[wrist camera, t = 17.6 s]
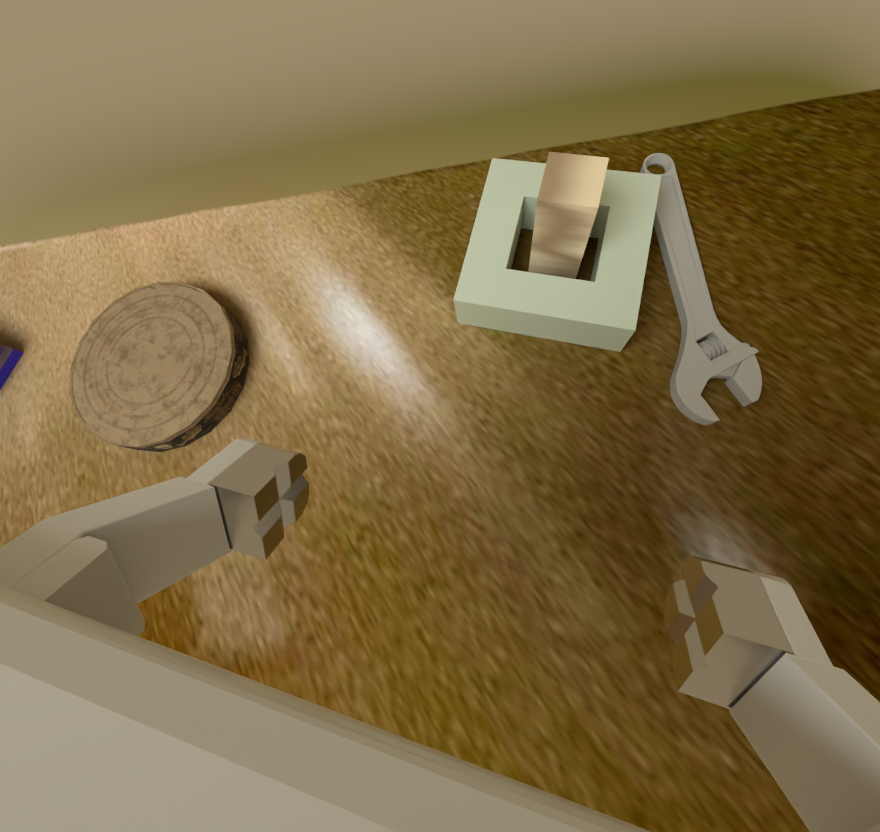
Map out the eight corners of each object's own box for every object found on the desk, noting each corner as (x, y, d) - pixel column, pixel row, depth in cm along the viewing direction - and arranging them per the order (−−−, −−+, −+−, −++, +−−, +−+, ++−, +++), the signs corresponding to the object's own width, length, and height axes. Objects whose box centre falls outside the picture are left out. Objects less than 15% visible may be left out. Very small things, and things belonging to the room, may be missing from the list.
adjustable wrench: (634, 168, 40) (640, 152, 38) (706, 161, 39) (716, 144, 37) (672, 424, 33) (682, 418, 32) (760, 421, 33) (775, 415, 31)
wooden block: (580, 250, 38) (608, 157, 28) (572, 290, 37) (598, 207, 27) (536, 244, 39) (549, 151, 29) (526, 282, 38) (537, 200, 28)
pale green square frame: (644, 210, 38) (661, 175, 34) (620, 351, 35) (635, 330, 31) (492, 192, 41) (492, 158, 37) (457, 323, 38) (453, 300, 34)
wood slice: (274, 312, 41) (257, 296, 38) (213, 471, 37) (190, 466, 35) (139, 286, 44) (114, 269, 41) (72, 431, 40) (39, 424, 38)
